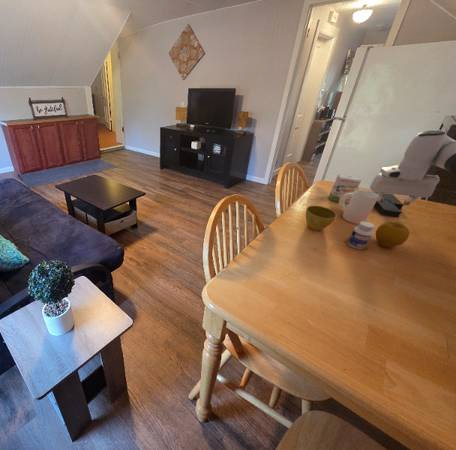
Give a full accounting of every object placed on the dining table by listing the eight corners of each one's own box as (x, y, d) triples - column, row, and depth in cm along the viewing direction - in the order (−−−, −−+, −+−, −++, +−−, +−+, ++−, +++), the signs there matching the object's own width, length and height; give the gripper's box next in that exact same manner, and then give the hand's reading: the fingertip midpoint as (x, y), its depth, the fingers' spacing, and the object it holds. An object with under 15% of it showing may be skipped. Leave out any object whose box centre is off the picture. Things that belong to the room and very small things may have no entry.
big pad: (390, 198, 121) (393, 194, 120) (400, 209, 111) (403, 204, 110) (357, 194, 125) (359, 189, 124) (364, 204, 116) (366, 199, 114)
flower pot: (327, 237, 92) (335, 221, 88) (298, 228, 97) (304, 212, 93) (330, 226, 99) (338, 210, 95) (303, 218, 104) (309, 203, 100)
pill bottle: (349, 239, 91) (359, 218, 87) (366, 245, 88) (378, 224, 83) (345, 244, 88) (356, 224, 83) (362, 251, 85) (375, 230, 80)
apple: (403, 255, 83) (418, 233, 79) (372, 247, 87) (385, 226, 82) (397, 242, 90) (410, 221, 85) (368, 235, 93) (380, 215, 88)
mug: (340, 209, 111) (351, 184, 105) (369, 221, 103) (383, 195, 96) (329, 213, 108) (340, 188, 102) (358, 225, 99) (372, 199, 93)
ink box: (330, 200, 119) (339, 177, 113) (328, 196, 123) (337, 174, 117) (350, 203, 116) (361, 180, 110) (348, 199, 120) (359, 176, 114)
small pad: (387, 205, 115) (390, 200, 114) (398, 217, 105) (401, 212, 104) (372, 203, 117) (374, 198, 115) (381, 214, 107) (384, 209, 106)
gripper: (437, 173, 99) (418, 203, 106) (377, 167, 105) (362, 196, 113) (447, 178, 94) (426, 210, 101) (382, 172, 100) (367, 202, 108)
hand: (392, 203), depth 107 cm, fingers open, 8 cm apart
